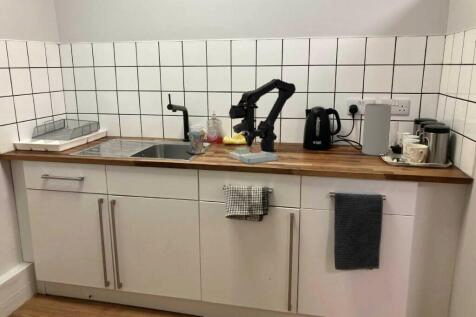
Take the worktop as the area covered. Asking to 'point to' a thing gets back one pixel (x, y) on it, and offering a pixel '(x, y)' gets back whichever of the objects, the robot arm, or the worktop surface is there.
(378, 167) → the worktop surface
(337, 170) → the worktop surface
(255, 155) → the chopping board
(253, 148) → the terracotta tile
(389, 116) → the cylinder vase
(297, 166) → the worktop surface
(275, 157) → the tray
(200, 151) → the mug
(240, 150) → the sage tile
